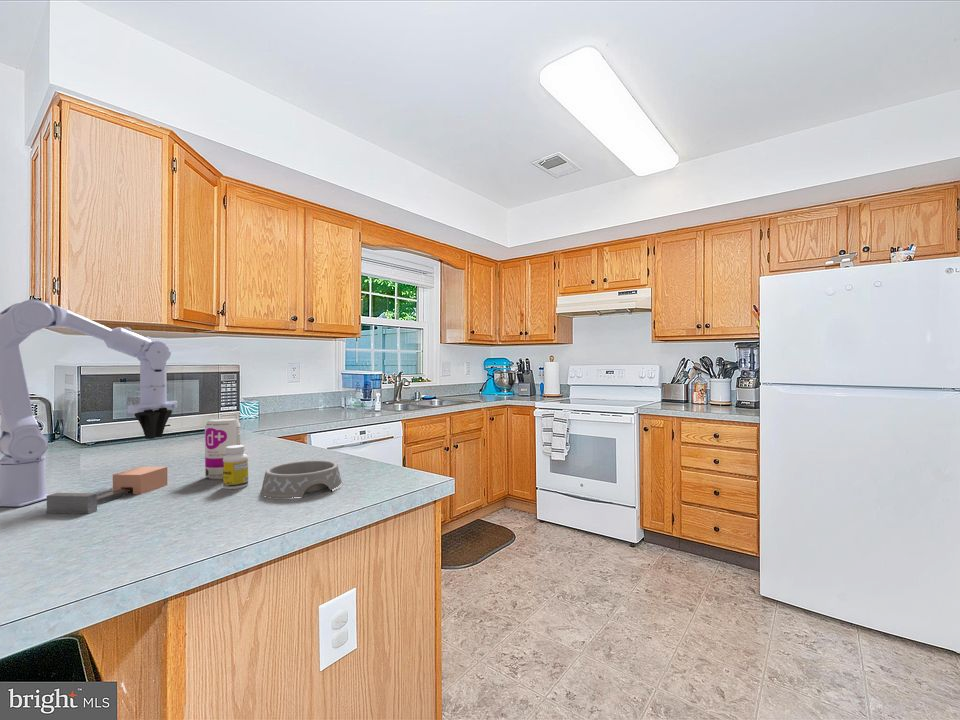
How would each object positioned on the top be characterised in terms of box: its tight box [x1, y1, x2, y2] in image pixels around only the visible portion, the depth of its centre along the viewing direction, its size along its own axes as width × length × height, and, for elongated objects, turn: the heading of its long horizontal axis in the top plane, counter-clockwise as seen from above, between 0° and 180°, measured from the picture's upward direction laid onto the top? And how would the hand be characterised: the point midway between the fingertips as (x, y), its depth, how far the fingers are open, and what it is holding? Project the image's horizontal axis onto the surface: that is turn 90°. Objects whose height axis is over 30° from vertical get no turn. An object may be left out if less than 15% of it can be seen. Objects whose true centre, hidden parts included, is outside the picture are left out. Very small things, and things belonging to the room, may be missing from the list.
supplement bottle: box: [222, 444, 249, 490], centre depth 111 cm, size 5×5×10 cm
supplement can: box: [204, 417, 242, 480], centre depth 122 cm, size 8×8×15 cm
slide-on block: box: [112, 466, 169, 495], centre depth 110 cm, size 7×8×4 cm
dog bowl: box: [260, 459, 343, 499], centre depth 109 cm, size 17×18×5 cm
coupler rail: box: [46, 490, 129, 515], centre depth 99 cm, size 9×13×4 cm
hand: (153, 437), depth 121 cm, fingers closed
